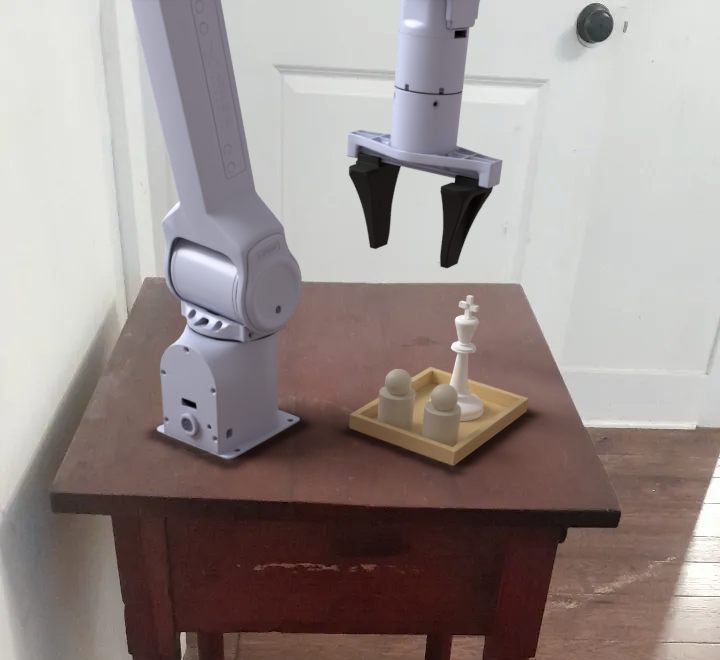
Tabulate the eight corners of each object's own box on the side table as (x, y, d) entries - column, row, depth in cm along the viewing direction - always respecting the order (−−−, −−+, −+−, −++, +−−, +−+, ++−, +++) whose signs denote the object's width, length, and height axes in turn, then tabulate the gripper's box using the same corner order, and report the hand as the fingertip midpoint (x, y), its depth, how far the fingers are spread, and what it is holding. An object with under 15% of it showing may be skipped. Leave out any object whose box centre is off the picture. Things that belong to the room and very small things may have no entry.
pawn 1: (399, 438, 82) (405, 380, 79) (369, 427, 83) (374, 370, 80) (418, 426, 84) (424, 369, 81) (389, 415, 85) (393, 359, 82)
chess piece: (464, 426, 84) (480, 311, 78) (417, 409, 87) (428, 295, 80) (493, 408, 88) (511, 296, 81) (447, 392, 90) (460, 281, 84)
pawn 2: (445, 454, 80) (452, 396, 77) (414, 443, 82) (420, 385, 78) (463, 441, 82) (471, 384, 79) (432, 431, 84) (439, 374, 80)
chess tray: (452, 470, 79) (455, 451, 78) (348, 432, 83) (349, 414, 82) (525, 415, 88) (529, 398, 87) (428, 383, 92) (430, 366, 91)
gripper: (527, 96, 82) (503, 263, 90) (381, 70, 88) (371, 229, 96) (487, 107, 77) (465, 282, 85) (336, 78, 83) (329, 244, 91)
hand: (413, 255), depth 90 cm, fingers open, 7 cm apart
